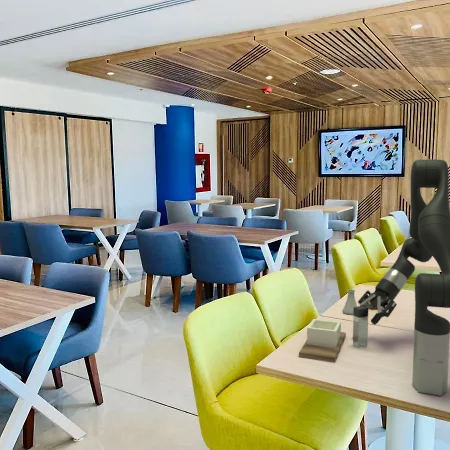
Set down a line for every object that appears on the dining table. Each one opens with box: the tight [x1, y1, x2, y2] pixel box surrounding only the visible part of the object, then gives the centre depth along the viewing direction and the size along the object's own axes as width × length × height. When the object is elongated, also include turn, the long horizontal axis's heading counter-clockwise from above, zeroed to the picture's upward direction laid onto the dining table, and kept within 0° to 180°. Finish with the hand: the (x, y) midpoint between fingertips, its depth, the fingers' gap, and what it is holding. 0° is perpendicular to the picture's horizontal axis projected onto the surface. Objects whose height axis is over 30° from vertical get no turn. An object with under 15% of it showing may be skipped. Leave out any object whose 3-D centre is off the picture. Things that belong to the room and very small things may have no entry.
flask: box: [342, 288, 358, 316], centre depth 195 cm, size 7×7×10 cm
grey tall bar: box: [352, 305, 369, 349], centre depth 159 cm, size 3×4×14 cm
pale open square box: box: [306, 318, 342, 348], centre depth 161 cm, size 10×10×6 cm
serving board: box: [298, 331, 347, 363], centre depth 160 cm, size 24×12×2 cm, turn 157°
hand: (364, 319), depth 160 cm, fingers open, 8 cm apart
